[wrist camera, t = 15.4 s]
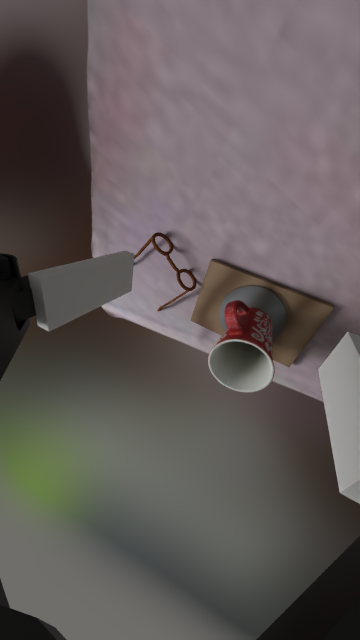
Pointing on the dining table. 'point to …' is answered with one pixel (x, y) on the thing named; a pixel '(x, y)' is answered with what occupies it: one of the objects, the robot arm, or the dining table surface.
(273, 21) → the dining table surface
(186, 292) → the glasses
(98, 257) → the robot arm
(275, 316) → the board
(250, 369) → the mug
